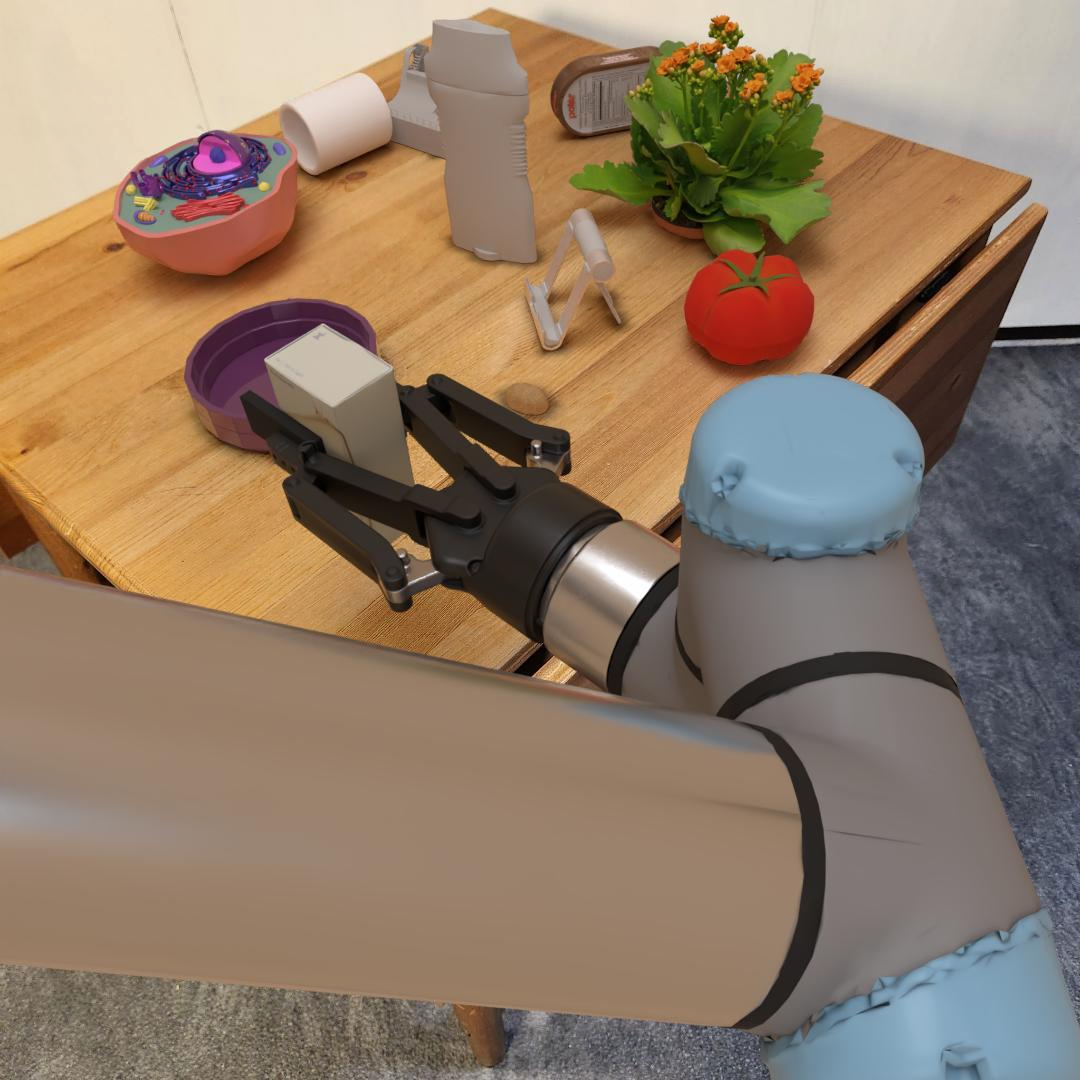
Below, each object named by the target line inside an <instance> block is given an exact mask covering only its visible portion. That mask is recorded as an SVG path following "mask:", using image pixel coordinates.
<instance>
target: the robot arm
mask: <svg viewBox="0 0 1080 1080" xmlns="http://www.w3.org/2000/svg"><path fill="white" fill-rule="evenodd" d="M425 381H426V383H425V384H423V385H420V386H414V385H411V384H404V385H402V384H401V383H399V382H398V381H396V387H397V392H398V398H399V403H400V408H401V413H402V419H403V424H404V429H405V435H406V438H409V437H408V434H409V436H411V437H412V438H413V439H414V440H415V441H416V442H417V444H418V445H420V446H421V448H422V449H423V450H424V451H425V452H426V453H428V455H429V456H430V457H431V458H432V459H433V460H434V461H435V462H436V463H437V464H438V465H439V466H440V468H442V470H443V471H444V472H445V473H446V474H447V475H448V476H449V477H450V478H451V479H452V480H453V482H452V483H451V484H449V485H447V486H445V487H443V488H441V489H439V490H437V489H434V488H433V487H432V488H431V487H429V486H427V485H424V484H422V483H415V486H414V487H410V486H408V485H405V484H402V483H400V482H397V481H395V480H392V479H389V478H387V477H384V476H382V475H379V474H376V473H374V472H371V471H369V470H366V469H363V468H361V467H358V466H356V465H353V464H350V463H348V462H345V461H343V460H340V459H337V458H335V457H332V456H330V455H327V453H326V450H325V447H324V443H323V440H322V438H321V437H320V436H318V435H317V434H315V433H314V432H313V431H311V430H310V429H308V428H307V427H305V426H304V425H302V424H301V423H299V422H298V421H296V420H295V419H293V418H292V417H290V416H289V415H287V414H286V413H284V412H283V411H281V410H280V409H278V408H277V407H275V406H274V405H272V404H271V403H269V402H268V401H266V400H265V399H263V398H262V397H260V396H259V395H257V394H256V393H254V392H253V391H251V390H249V391H247V392H246V393H244V394H242V395H241V396H239V397H240V400H241V402H242V405H243V408H244V410H245V413H246V416H247V418H248V421H249V424H250V426H251V429H252V432H254V433H255V434H257V435H258V436H260V437H261V438H262V439H264V440H265V441H266V443H267V446H268V448H269V451H270V452H269V454H270V456H271V459H272V461H273V464H274V465H276V466H277V467H279V468H280V469H281V470H283V471H285V472H286V473H287V474H289V475H288V476H286V477H285V478H284V479H283V481H282V483H281V487H282V489H283V493H284V495H285V498H286V500H287V503H288V506H289V509H290V511H291V515H292V517H293V519H294V521H296V522H297V523H299V524H300V525H301V526H302V527H304V528H305V529H306V530H307V531H309V532H310V533H311V534H312V535H313V536H315V537H316V538H318V539H319V540H320V541H321V542H322V543H324V544H325V545H326V546H328V547H329V548H331V549H332V550H333V551H334V552H336V554H338V555H339V556H340V557H342V558H343V559H344V560H345V561H347V562H348V563H350V564H351V565H352V566H353V567H355V568H356V569H357V570H359V571H360V572H361V573H362V574H364V575H365V576H366V577H367V578H368V579H370V580H371V581H372V582H374V583H375V584H376V585H377V586H378V587H379V589H380V591H381V593H382V595H383V597H384V599H385V601H386V603H387V606H388V607H389V609H390V610H391V611H392V612H395V613H400V614H401V613H406V612H408V611H410V609H411V608H412V607H413V604H414V599H413V596H415V595H418V594H421V593H422V592H424V591H427V590H430V589H432V588H434V587H437V586H439V585H440V586H442V587H443V588H445V589H448V590H450V591H451V590H452V591H457V592H458V591H459V592H463V593H466V594H469V595H471V597H473V598H474V599H476V600H477V601H478V602H479V604H481V605H482V606H483V607H484V608H485V609H487V610H488V611H489V612H490V613H492V614H493V615H495V616H496V617H498V618H499V619H500V620H501V621H503V622H504V623H506V624H507V625H509V626H510V627H512V628H513V629H514V630H516V631H517V632H519V633H520V634H521V635H522V636H524V637H526V638H527V639H528V640H530V641H531V642H533V643H536V644H541V645H544V647H545V648H546V650H547V651H548V652H549V654H551V655H552V656H553V657H554V658H556V659H558V660H559V661H560V662H562V663H563V664H564V665H566V666H567V667H569V668H570V669H572V670H574V671H575V672H576V673H578V675H581V676H582V677H583V678H585V679H586V680H588V681H589V682H590V683H592V684H593V685H595V686H596V687H597V688H599V689H601V690H602V691H599V690H594V689H590V688H585V687H580V686H575V685H571V684H567V683H561V682H557V681H553V680H547V679H544V678H538V677H534V676H529V675H524V674H520V673H515V672H510V671H505V670H501V669H497V668H493V667H492V668H491V667H487V666H482V665H477V664H473V663H468V662H464V661H459V660H454V659H449V658H445V657H440V656H435V655H431V654H427V653H421V652H418V651H417V652H416V651H412V650H407V649H403V648H397V647H394V646H388V645H383V644H379V643H375V642H369V641H366V640H361V639H355V638H351V637H346V636H341V635H337V634H334V633H333V634H332V633H328V632H323V631H318V630H315V629H309V628H305V627H299V626H295V625H290V624H286V623H282V622H276V621H272V620H267V619H262V618H258V617H253V616H248V615H243V614H239V613H235V612H229V611H225V610H221V609H216V608H211V607H205V606H202V605H196V604H192V603H188V602H182V601H178V600H174V599H169V598H164V597H159V596H156V595H155V596H154V595H150V594H145V593H140V592H136V591H131V590H126V589H123V588H118V587H113V586H108V585H103V584H99V583H94V582H90V581H84V580H79V579H76V578H70V577H65V576H61V575H57V574H52V573H48V572H44V571H43V572H42V571H38V570H34V569H30V568H29V569H28V568H24V567H19V566H14V565H11V564H5V563H0V965H6V966H7V965H9V966H18V967H19V966H20V967H32V968H40V969H41V968H44V969H54V970H65V971H76V972H88V973H98V974H99V973H100V974H111V975H122V976H134V977H145V978H146V977H147V978H157V979H168V980H179V981H191V982H201V983H214V984H223V985H225V984H226V985H236V986H237V985H238V986H248V987H257V988H259V987H260V988H268V989H269V988H270V989H283V990H293V991H304V992H315V993H316V992H317V993H327V994H328V993H329V994H339V995H349V996H360V997H361V996H362V997H373V998H383V999H384V998H385V999H394V1000H406V1001H408V1000H409V1001H417V1002H429V1003H430V1002H431V1003H440V1004H453V1005H463V1006H475V1007H486V1008H498V1009H499V1008H500V1009H507V1010H509V1009H510V1010H520V1011H521V1010H522V1011H533V1012H542V1013H543V1012H544V1013H554V1014H567V1015H578V1016H590V1017H600V1018H610V1019H611V1018H612V1019H622V1020H633V1021H635V1020H636V1021H646V1022H657V1023H668V1024H680V1025H690V1026H691V1025H692V1026H701V1027H702V1026H704V1027H714V1028H723V1029H734V1030H738V1031H742V1032H746V1033H749V1034H753V1035H757V1036H760V1047H759V1057H758V1059H759V1060H760V1061H762V1062H763V1063H764V1064H765V1066H766V1068H767V1069H768V1072H769V1076H770V1080H1080V1023H1079V1020H1078V1017H1077V1015H1076V1012H1075V1008H1074V1005H1073V1001H1072V998H1071V995H1070V991H1069V989H1068V986H1067V983H1066V978H1065V976H1064V972H1063V968H1062V965H1061V961H1060V958H1059V954H1058V951H1057V948H1056V944H1055V941H1054V937H1053V934H1052V930H1053V927H1054V923H1053V921H1052V919H1051V917H1050V915H1049V913H1048V911H1047V907H1043V904H1042V902H1041V900H1040V897H1039V895H1038V892H1037V889H1036V887H1035V883H1034V882H1033V880H1032V877H1031V874H1030V872H1029V869H1028V866H1027V864H1026V861H1025V859H1024V857H1023V854H1022V851H1021V849H1020V846H1019V843H1018V841H1017V839H1016V836H1015V833H1014V831H1013V828H1012V826H1011V823H1010V820H1009V819H1008V818H1009V817H1008V816H1007V813H1006V810H1005V808H1004V805H1003V802H1002V800H1001V798H1000V795H999V792H998V789H997V787H996V785H995V782H994V780H993V777H992V774H991V772H990V770H989V767H988V764H987V762H986V759H985V757H984V753H983V751H982V749H981V746H980V743H979V741H978V738H977V735H976V734H975V731H974V729H973V726H972V723H971V720H970V718H969V716H968V713H967V710H966V708H965V705H964V701H963V699H962V696H961V694H960V691H959V686H958V683H957V681H956V678H955V675H954V672H953V670H952V667H951V664H950V661H949V659H948V656H947V654H946V651H945V649H944V645H943V643H942V640H941V637H940V634H939V631H938V628H937V627H936V624H935V621H934V617H933V614H932V612H931V610H930V607H929V604H928V602H927V598H926V597H925V593H924V591H923V589H922V586H921V583H920V581H919V578H918V575H917V573H916V570H915V567H914V566H913V562H912V560H911V555H910V553H909V547H908V533H909V532H911V531H912V526H913V525H914V523H915V522H916V521H917V520H918V518H919V517H920V516H919V515H920V513H921V507H920V505H921V502H922V499H921V496H920V493H921V488H922V483H923V476H924V471H925V464H926V463H925V461H926V460H925V452H924V446H923V443H922V440H921V437H920V435H919V433H918V431H917V429H916V428H915V426H914V424H913V423H912V421H911V420H910V419H909V417H908V416H907V415H906V414H905V413H904V411H902V410H901V409H900V408H899V407H898V406H897V405H896V404H895V403H894V402H893V401H892V400H890V399H888V398H887V397H885V396H884V395H882V394H880V393H879V392H877V391H876V390H873V389H871V388H870V387H868V386H866V385H864V384H861V383H858V382H856V381H853V380H850V379H847V378H845V377H840V376H836V375H831V374H826V373H819V372H807V371H806V372H803V373H800V374H789V373H785V374H781V375H777V374H769V375H764V376H758V377H755V378H753V379H751V380H747V381H745V382H742V383H740V384H737V385H736V386H734V387H732V388H731V389H729V390H727V391H725V392H724V393H723V394H721V395H720V396H719V397H717V398H716V399H715V400H714V401H713V402H712V403H711V404H710V405H709V406H708V407H707V408H706V409H705V410H704V412H703V413H702V414H701V416H700V418H699V420H698V421H697V423H696V426H695V428H694V430H693V433H692V436H691V441H690V447H689V453H688V458H687V464H686V469H685V473H684V477H683V483H682V484H680V485H679V490H678V500H679V502H680V504H681V505H682V506H681V507H682V508H681V509H682V510H681V528H680V529H681V530H680V545H679V546H678V545H676V544H674V543H673V542H671V541H669V540H668V539H666V538H665V537H663V536H661V535H660V534H658V533H656V532H655V531H653V530H651V529H649V528H648V527H646V526H645V525H643V524H641V523H640V522H639V521H637V520H632V519H627V518H625V519H624V518H623V516H622V515H621V513H620V512H619V511H618V510H616V509H614V508H613V507H611V506H609V505H608V504H606V503H604V502H603V501H601V500H600V499H597V498H595V497H594V496H593V495H591V494H589V493H588V492H586V491H584V490H582V489H581V488H579V487H577V486H575V485H574V484H571V483H569V482H567V481H566V482H565V481H561V479H560V477H565V476H568V475H569V474H570V473H571V472H572V468H573V465H572V442H571V434H570V432H568V430H567V429H563V428H559V427H554V426H549V425H544V424H541V423H540V424H539V423H535V422H532V420H529V419H527V418H526V417H524V416H522V415H520V414H518V413H516V412H514V411H513V410H510V409H508V408H507V407H505V406H503V405H501V404H499V403H497V402H496V401H494V400H492V399H490V398H488V397H486V396H485V395H482V394H481V393H479V392H478V391H475V390H474V389H472V388H470V387H468V386H466V385H465V384H462V383H461V382H459V381H457V380H455V379H453V378H451V377H449V376H448V375H446V374H443V373H439V372H437V373H433V374H430V375H429V376H428V377H427V378H426V380H425ZM465 435H466V436H465ZM467 437H469V438H470V439H473V441H476V442H474V443H472V441H470V439H468V438H467ZM480 444H481V445H483V446H485V447H487V448H488V449H490V450H491V451H494V452H495V453H497V454H498V455H501V456H502V457H504V458H506V459H507V460H509V461H511V462H512V463H514V464H516V465H518V466H512V465H501V464H499V463H498V461H497V460H495V459H494V458H493V457H492V456H491V454H489V453H488V452H487V451H486V450H485V449H484V448H483V446H481V445H480ZM348 510H349V511H348ZM350 511H352V512H354V513H357V514H359V515H362V516H364V517H366V518H369V519H371V520H374V521H376V522H379V523H381V524H384V525H386V526H389V527H391V528H394V529H396V530H398V531H401V532H403V533H405V534H406V535H407V536H408V537H409V538H410V540H411V541H412V542H414V543H415V544H417V545H419V546H421V547H424V548H427V549H428V550H429V556H430V558H429V559H418V558H416V556H414V555H413V554H412V553H409V552H408V550H407V549H406V548H404V547H403V548H402V547H401V548H397V549H395V547H394V546H393V545H392V543H391V544H390V543H389V542H388V540H387V539H385V538H384V537H383V536H382V535H381V534H379V533H378V532H377V531H375V530H374V529H373V528H371V527H370V526H368V525H367V524H366V523H364V522H363V521H362V520H360V519H359V518H358V517H356V516H355V515H354V514H352V513H351V512H350Z"/></svg>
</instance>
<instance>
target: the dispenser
mask: <svg viewBox="0 0 1080 1080" xmlns="http://www.w3.org/2000/svg"><path fill="white" fill-rule="evenodd" d="M431 32H432V33H431V42H430V43H431V45H430V46H431V47H430V49H429V52H428V53H427V54H426V55H425V56H424V65H425V72H426V79H427V85H428V90H429V94H430V97H431V98H432V100H433V101H434V103H435V104H436V106H437V108H436V109H435V110H436V114H437V116H438V119H437V120H438V121H439V126H440V130H439V131H440V132H441V134H440V136H441V140H442V144H443V146H442V148H443V153H444V155H443V157H444V158H443V159H444V160H445V165H444V166H445V167H444V174H443V181H444V188H445V189H444V190H445V197H446V203H447V204H446V205H447V211H448V217H449V224H450V232H451V238H452V243H453V244H454V246H456V247H458V248H461V249H463V250H465V251H469V252H470V253H474V255H475V256H476V257H477V258H479V259H481V260H483V261H488V262H490V261H491V262H492V261H493V262H495V261H505V262H506V261H507V262H513V263H520V264H532V263H535V262H537V261H538V253H537V251H538V250H537V240H536V239H537V238H536V224H535V210H534V197H533V191H532V188H531V183H530V181H529V178H528V173H529V170H528V168H529V167H528V163H529V161H528V160H527V159H528V157H527V156H528V153H527V152H528V149H527V144H526V142H527V138H526V137H527V133H526V131H527V125H528V124H527V123H526V122H525V120H526V118H527V116H528V115H529V113H530V89H529V75H528V72H527V71H526V69H524V68H523V66H522V65H521V64H519V61H518V59H517V55H516V52H515V48H514V44H513V42H512V37H511V32H510V31H508V30H507V29H504V28H501V27H497V26H493V25H489V24H487V23H484V22H480V21H478V20H475V19H471V18H470V19H469V18H460V19H434V20H432V29H431Z"/></svg>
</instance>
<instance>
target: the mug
mask: <svg viewBox="0 0 1080 1080" xmlns="http://www.w3.org/2000/svg"><path fill="white" fill-rule="evenodd" d="M387 103H388V102H387V100H386V98H385V96H384V94H383V92H382V90H381V88H380V87H379V86H378V84H377V83H376V82H375V81H374V80H373V78H371V77H370V76H369V75H368V74H366V73H363V72H355V73H352V74H350V75H348V76H346V77H342V78H340V79H338V80H335V81H333V82H331V83H328V84H326V85H323V86H321V87H318V88H316V89H313V90H311V91H308V92H306V93H303V94H301V95H299V96H296V97H293V98H291V99H288V100H285V101H283V102H282V103H281V105H280V107H279V109H278V110H279V111H278V121H279V127H280V130H281V134H282V136H283V137H282V138H283V139H286V140H287V141H289V142H291V143H292V144H293V145H294V146H295V148H296V150H297V154H298V163H297V165H299V166H300V168H302V169H303V170H304V171H305V172H306V173H307V174H310V175H313V176H317V175H320V174H322V173H324V172H326V171H329V170H331V169H333V168H335V167H338V166H341V165H342V164H344V163H347V162H349V161H351V160H353V159H355V158H358V157H360V156H362V155H365V154H367V153H369V152H371V151H373V150H376V149H378V148H380V147H382V146H384V145H387V144H388V143H389V142H390V141H391V140H390V139H391V136H392V118H391V114H390V110H389V107H388V104H387Z"/></svg>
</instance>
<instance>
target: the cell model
mask: <svg viewBox="0 0 1080 1080" xmlns="http://www.w3.org/2000/svg"><path fill="white" fill-rule="evenodd" d="M117 187H118V188H117V189H116V192H115V197H114V203H113V210H112V219H113V220H114V222H115V224H116V226H117V228H118V230H119V232H120V234H121V236H122V239H124V241H125V243H126V244H127V246H128V247H129V248H130V250H132V251H133V252H135V253H136V254H138V255H139V256H142V257H144V258H146V259H147V260H151V261H153V262H155V263H157V264H160V265H162V266H164V267H167V269H168V268H169V269H171V270H173V271H175V272H180V273H185V274H197V275H206V276H207V275H208V276H218V277H219V276H220V277H221V276H228V275H230V274H231V273H233V272H235V271H237V270H238V269H241V267H243V266H244V265H246V264H247V263H249V262H251V261H253V260H255V259H257V258H259V257H260V256H262V255H264V254H266V253H267V252H270V251H271V250H273V249H275V248H276V247H277V246H279V244H281V243H282V241H283V240H284V239H285V237H286V236H287V234H288V233H289V231H290V230H291V227H292V226H293V222H294V219H295V215H296V208H297V203H298V202H297V201H298V197H299V190H298V189H299V188H298V154H297V150H296V148H295V146H294V145H293V144H292V143H291V142H289V141H287V140H286V139H284V137H280V136H275V135H269V134H262V133H251V132H232V131H227V130H223V129H213V130H208V131H206V132H204V133H201V134H200V135H199V136H197V137H191V138H188V139H185V140H182V141H179V142H177V143H174V144H173V145H171V146H168V147H166V148H165V149H162V150H161V151H159V152H157V153H154V154H151V155H150V156H147V157H145V158H143V159H142V160H140V161H139V162H138V163H137V164H136V165H135V166H134V167H133V168H131V170H130V171H129V172H128V173H127V174H126V175H125V177H124V178H123V180H122V181H121V182H120V183H119V185H118V186H117Z"/></svg>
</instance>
